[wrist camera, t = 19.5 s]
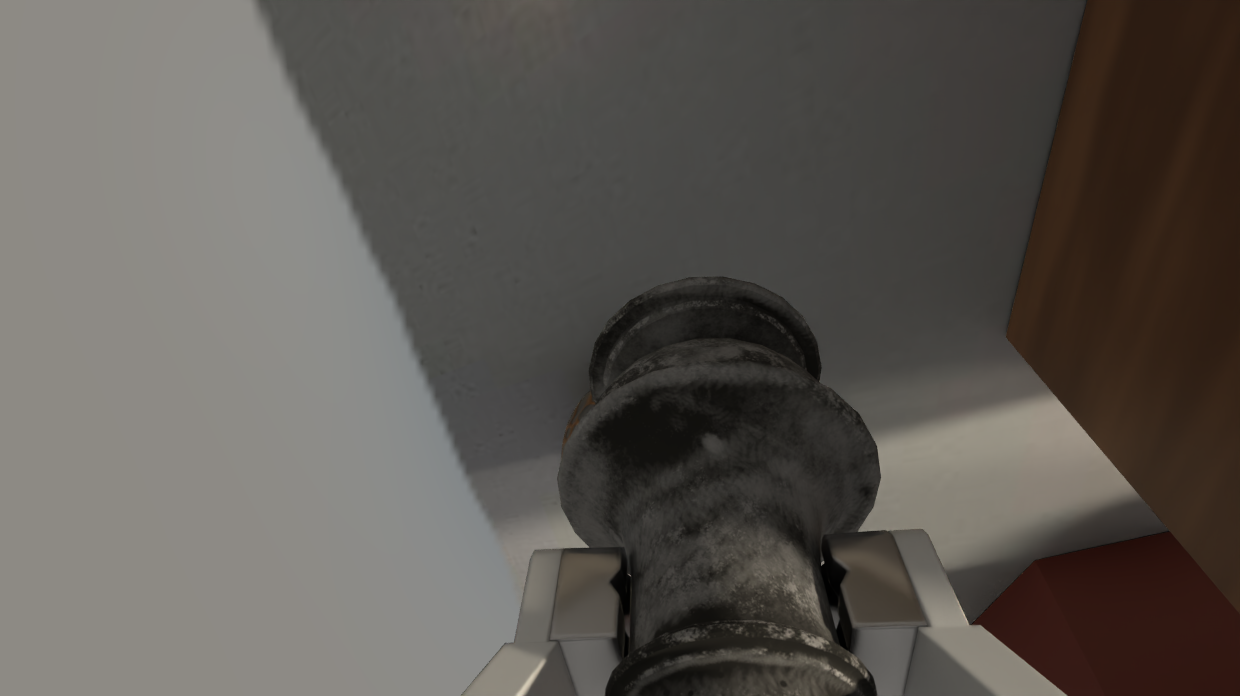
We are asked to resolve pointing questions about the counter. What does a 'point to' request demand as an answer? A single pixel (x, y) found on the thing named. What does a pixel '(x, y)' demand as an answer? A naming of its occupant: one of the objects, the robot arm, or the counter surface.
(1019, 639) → the bucket
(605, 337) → the grey stone turned figure
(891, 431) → the counter surface
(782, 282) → the counter surface
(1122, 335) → the cupboard door
